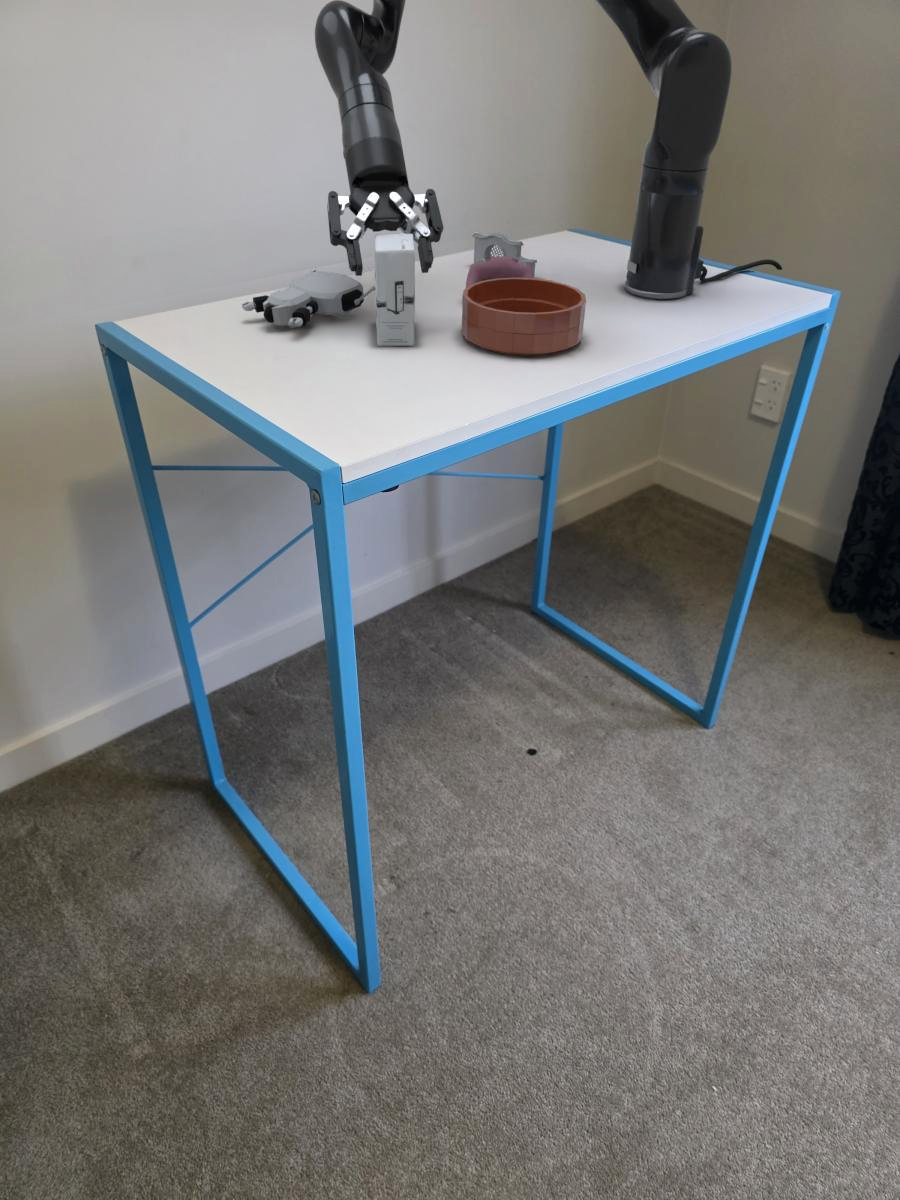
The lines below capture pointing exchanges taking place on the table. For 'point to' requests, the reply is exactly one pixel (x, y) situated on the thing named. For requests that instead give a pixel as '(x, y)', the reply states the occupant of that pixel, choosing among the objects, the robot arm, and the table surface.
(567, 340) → the bowl
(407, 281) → the ink box
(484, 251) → the lattice window wall
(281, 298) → the robot toy
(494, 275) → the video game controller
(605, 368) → the table surface
